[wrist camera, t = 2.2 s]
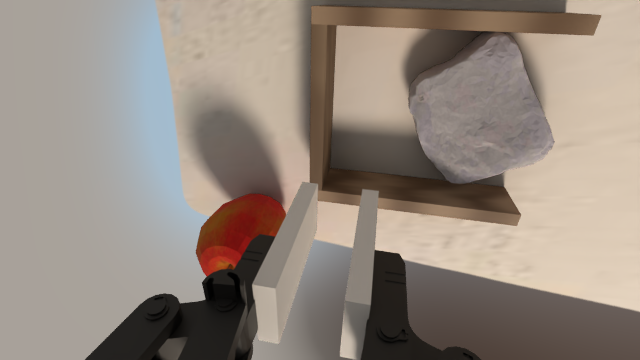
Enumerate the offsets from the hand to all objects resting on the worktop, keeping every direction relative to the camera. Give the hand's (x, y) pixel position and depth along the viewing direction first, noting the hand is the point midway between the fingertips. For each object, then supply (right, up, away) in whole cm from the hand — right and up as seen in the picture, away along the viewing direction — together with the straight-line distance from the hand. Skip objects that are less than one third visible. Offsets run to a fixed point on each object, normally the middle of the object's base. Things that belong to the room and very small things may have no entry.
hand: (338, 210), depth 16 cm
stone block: (+13, +8, +15) cm, 21 cm away
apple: (-8, -2, +25) cm, 26 cm away
